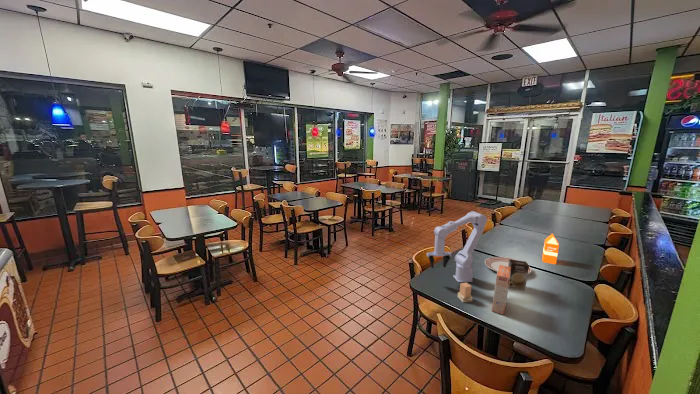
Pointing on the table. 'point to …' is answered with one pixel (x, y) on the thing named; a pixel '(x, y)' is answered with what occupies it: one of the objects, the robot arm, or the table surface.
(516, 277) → the coffee box
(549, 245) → the orange juice
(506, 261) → the dinner plate
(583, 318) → the table surface
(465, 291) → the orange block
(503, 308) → the cracker box
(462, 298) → the beech base
